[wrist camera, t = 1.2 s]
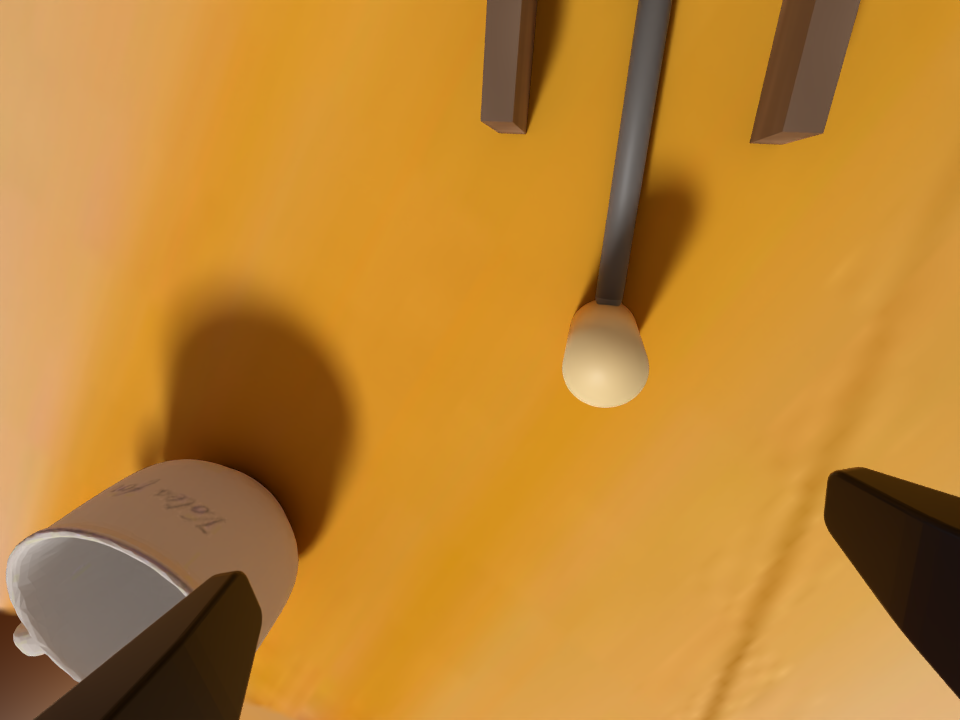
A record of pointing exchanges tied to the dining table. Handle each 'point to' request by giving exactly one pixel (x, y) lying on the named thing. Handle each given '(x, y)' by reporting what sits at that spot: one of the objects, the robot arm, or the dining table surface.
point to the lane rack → (786, 90)
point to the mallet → (620, 238)
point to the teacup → (146, 559)
